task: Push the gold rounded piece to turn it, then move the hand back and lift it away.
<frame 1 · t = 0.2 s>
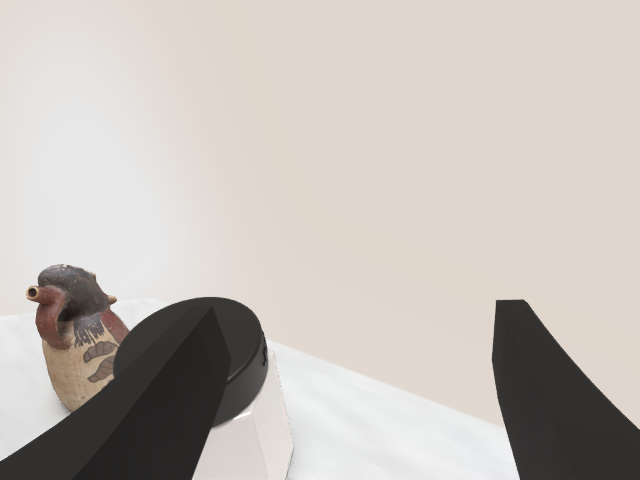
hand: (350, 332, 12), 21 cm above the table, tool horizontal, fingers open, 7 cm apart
figurine: (109, 385, 40), on the table
jar: (232, 472, 32), on the table
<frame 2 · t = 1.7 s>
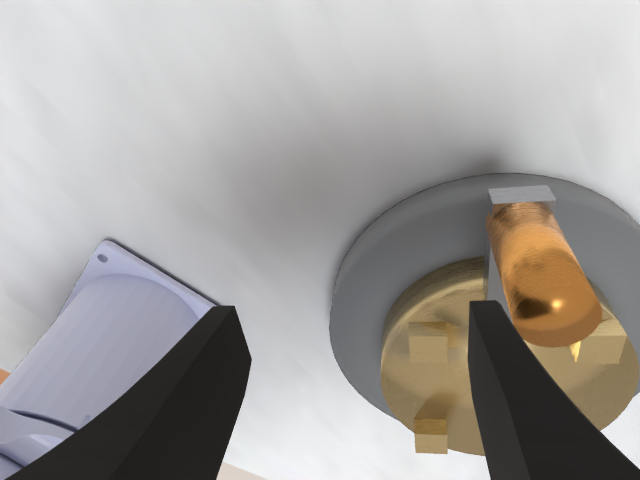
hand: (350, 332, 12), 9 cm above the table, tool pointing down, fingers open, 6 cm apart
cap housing: (485, 312, 23), on the table
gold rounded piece: (511, 373, 18), point 6 cm above the table, hinge at 0.0°
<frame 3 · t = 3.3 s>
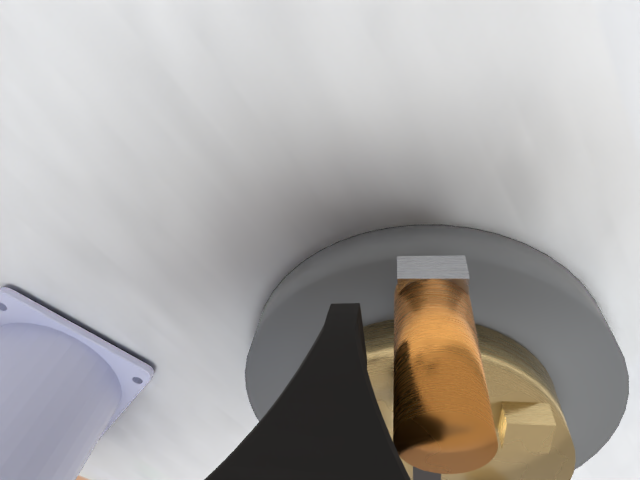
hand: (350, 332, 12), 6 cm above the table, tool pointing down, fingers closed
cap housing: (421, 367, 21), on the table
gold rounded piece: (429, 458, 15), point 6 cm above the table, hinge at 2.1°, touching gripper
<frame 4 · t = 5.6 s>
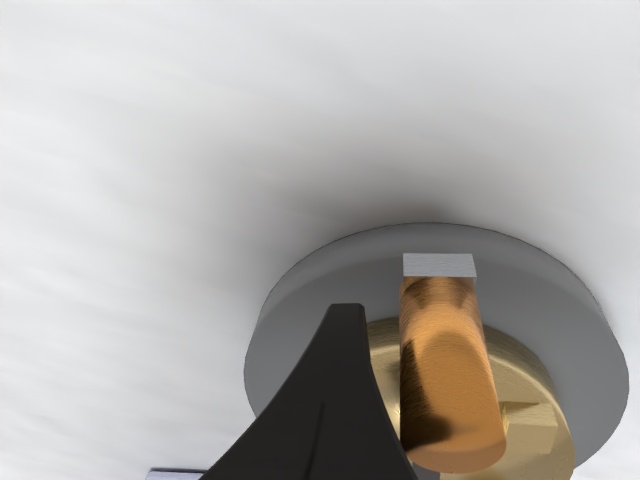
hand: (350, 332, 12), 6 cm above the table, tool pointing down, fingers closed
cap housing: (420, 366, 21), on the table
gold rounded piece: (429, 457, 15), point 6 cm above the table, hinge at 49.3°, touching gripper
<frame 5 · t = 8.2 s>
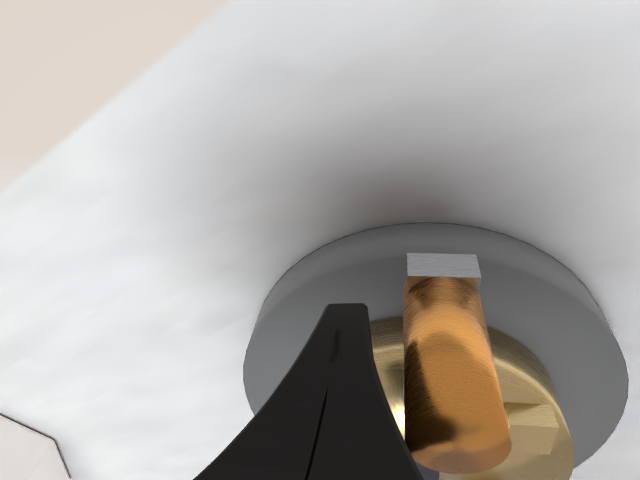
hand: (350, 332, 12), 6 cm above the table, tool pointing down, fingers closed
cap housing: (420, 366, 21), on the table
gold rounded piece: (429, 457, 15), point 6 cm above the table, hinge at 99.2°, touching gripper
jar: (8, 445, 31), on the table
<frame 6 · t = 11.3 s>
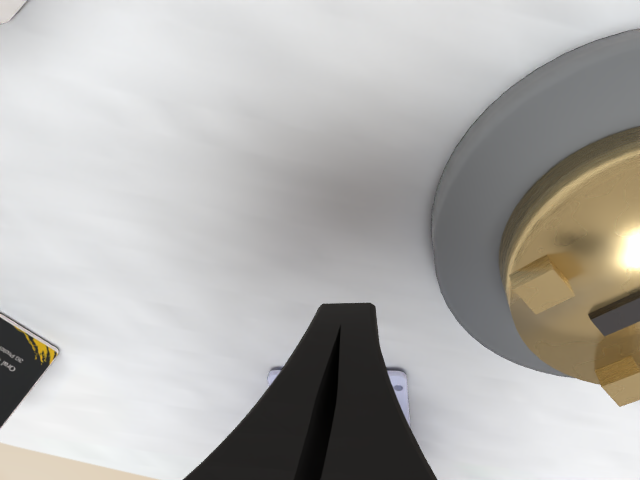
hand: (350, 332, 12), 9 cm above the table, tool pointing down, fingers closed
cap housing: (617, 219, 20), on the table
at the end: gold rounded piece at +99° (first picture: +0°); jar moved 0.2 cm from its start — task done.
